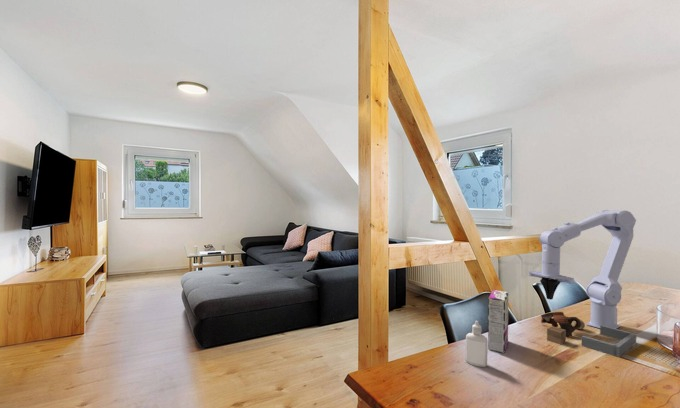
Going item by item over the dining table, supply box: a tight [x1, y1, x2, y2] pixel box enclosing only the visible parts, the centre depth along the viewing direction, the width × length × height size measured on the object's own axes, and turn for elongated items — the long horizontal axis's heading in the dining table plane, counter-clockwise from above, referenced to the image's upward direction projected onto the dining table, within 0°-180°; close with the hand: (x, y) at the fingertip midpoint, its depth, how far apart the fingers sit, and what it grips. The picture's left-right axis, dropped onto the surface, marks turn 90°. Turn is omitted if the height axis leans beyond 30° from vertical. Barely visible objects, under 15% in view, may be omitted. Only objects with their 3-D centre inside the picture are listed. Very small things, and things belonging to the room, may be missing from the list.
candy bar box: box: [487, 289, 509, 354], centre depth 105 cm, size 11×5×16 cm, turn 148°
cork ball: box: [572, 318, 586, 330], centre depth 120 cm, size 4×4×4 cm
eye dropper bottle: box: [464, 320, 488, 368], centre depth 92 cm, size 4×6×12 cm
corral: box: [581, 325, 637, 358], centre depth 107 cm, size 18×9×3 cm, turn 125°
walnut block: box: [546, 325, 567, 345], centre depth 109 cm, size 4×4×4 cm
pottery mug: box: [540, 311, 581, 337], centre depth 117 cm, size 12×10×8 cm
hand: (549, 298), depth 123 cm, fingers closed
